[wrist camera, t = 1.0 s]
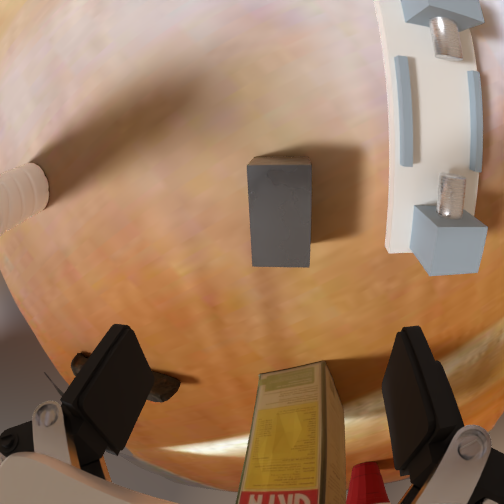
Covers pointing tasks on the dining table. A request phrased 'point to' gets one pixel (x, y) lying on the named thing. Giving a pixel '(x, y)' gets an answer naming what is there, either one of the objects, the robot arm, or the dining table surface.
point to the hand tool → (160, 390)
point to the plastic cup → (366, 485)
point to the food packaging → (295, 440)
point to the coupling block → (280, 211)
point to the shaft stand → (433, 132)
